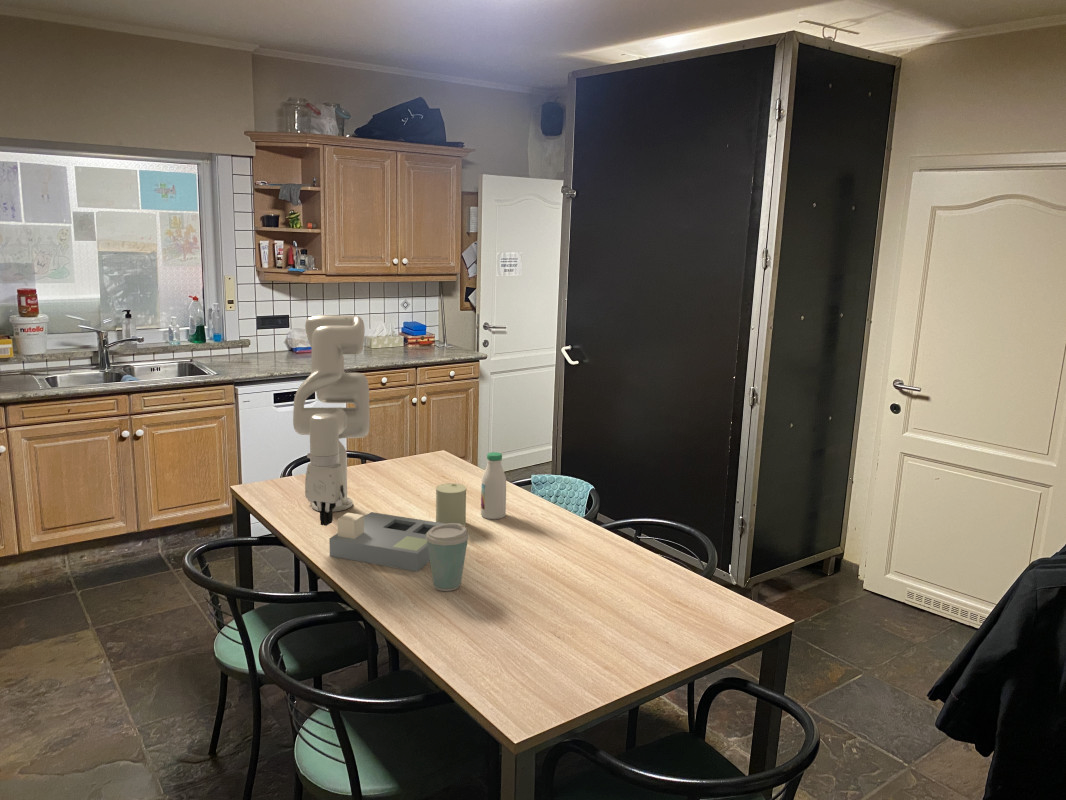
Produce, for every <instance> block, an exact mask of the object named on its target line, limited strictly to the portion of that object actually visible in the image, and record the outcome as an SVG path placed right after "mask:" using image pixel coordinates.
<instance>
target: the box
mask: <svg viewBox="0 0 1066 800" xmlns="http://www.w3.org/2000/svg"><path fill="white" fill-rule="evenodd" d="M440 524H444V523H438V522H436V521H430V520H424V519H418V518H417V519H416V518H413V517H412V518H411V517H406V516H405V517H404V516H398V515H393V514H385V513H381V512H372V511H371V512H369V513H367V514H366V515H364V533H363V534H361V535H360V536H358V537H357V538H355V539H352V538H346V537H340V536H338V532H337V533H336V534H334V535H333V536H330V538H329V539H328V541H329V557H333V558H338V559H344V560H350V561H355V562H360V563H368V564H372V565H376V566H377V565H378V566H383V567H389V568H393V569H399V570H406V571H411V572H420V571H421V570H422V569H423V567H425V566H426V565H427V564H429V563H430V557H429V551H428V544H427V541H426V533H427V532H428V531H429V530H430V529H431V528H432V527H435V526H438V525H440Z"/></svg>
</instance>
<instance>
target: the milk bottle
mask: <svg viewBox="0 0 1066 800" xmlns="http://www.w3.org/2000/svg"><path fill="white" fill-rule="evenodd" d="M486 461H487V464H486V467H485V470H484V471H483V474H482V477H481V486H480V487H481V488H480V489H481V491H480V493H481V495H480V515H481V517H482V518H484V519H487V520H500V519H503V518H504V517H506V512H507V511H506V510H507V477H506V473H505V471H504V469H503V465H502V461H503V454H502V453H501V452H497V451H496V452H494V451H493V452H488V453H487V454H486Z"/></svg>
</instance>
